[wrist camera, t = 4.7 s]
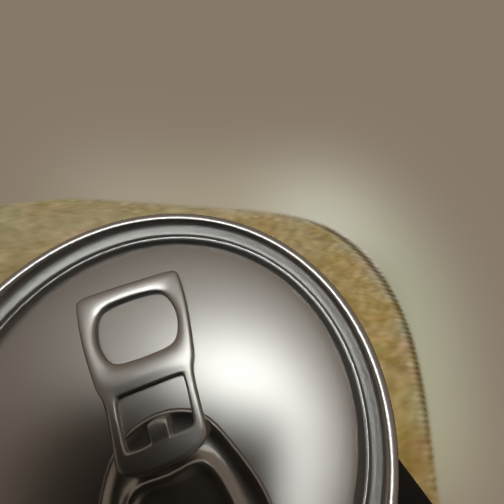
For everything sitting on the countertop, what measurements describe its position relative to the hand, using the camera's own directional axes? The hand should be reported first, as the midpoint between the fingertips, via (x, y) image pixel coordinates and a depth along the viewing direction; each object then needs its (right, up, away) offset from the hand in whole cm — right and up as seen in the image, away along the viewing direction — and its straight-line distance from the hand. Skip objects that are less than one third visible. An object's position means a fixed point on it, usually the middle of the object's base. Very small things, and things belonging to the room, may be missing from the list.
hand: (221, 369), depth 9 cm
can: (-1, -5, +5) cm, 7 cm away
